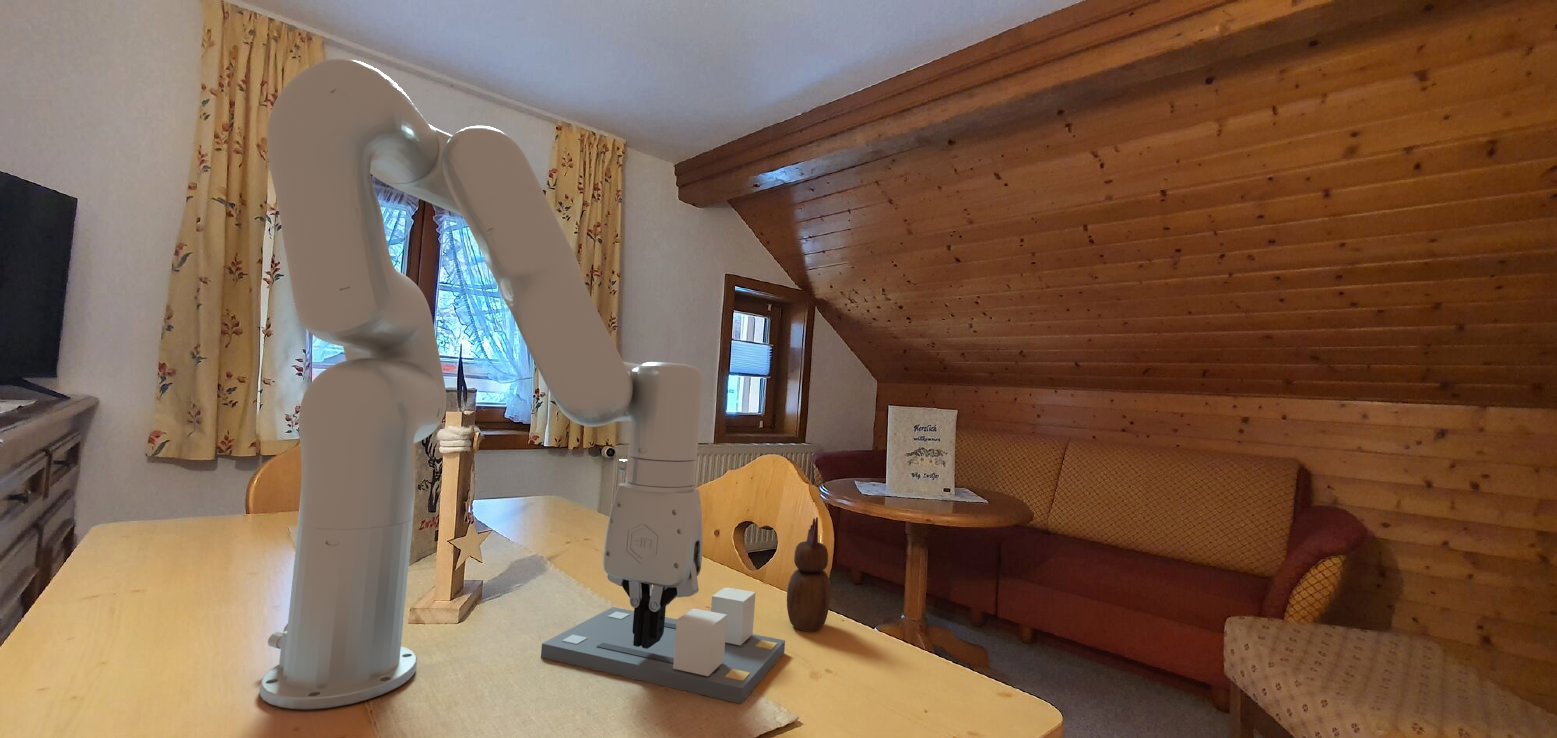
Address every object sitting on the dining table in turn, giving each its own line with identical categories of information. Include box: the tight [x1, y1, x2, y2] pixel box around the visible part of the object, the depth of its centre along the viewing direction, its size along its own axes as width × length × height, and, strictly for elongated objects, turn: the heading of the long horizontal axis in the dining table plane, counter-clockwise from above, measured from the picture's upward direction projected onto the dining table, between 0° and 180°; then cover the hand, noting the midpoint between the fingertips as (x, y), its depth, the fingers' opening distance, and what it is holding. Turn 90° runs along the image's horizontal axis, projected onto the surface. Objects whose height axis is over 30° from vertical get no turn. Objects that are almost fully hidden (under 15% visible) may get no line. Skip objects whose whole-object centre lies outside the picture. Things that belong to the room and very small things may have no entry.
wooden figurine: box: [786, 516, 832, 632], centre depth 85 cm, size 7×6×15 cm
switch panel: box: [540, 606, 786, 704], centre depth 73 cm, size 24×14×2 cm, turn 72°
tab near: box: [673, 607, 727, 676], centre depth 67 cm, size 4×4×5 cm
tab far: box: [710, 586, 756, 645], centre depth 75 cm, size 4×4×5 cm
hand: (647, 642), depth 69 cm, fingers closed
